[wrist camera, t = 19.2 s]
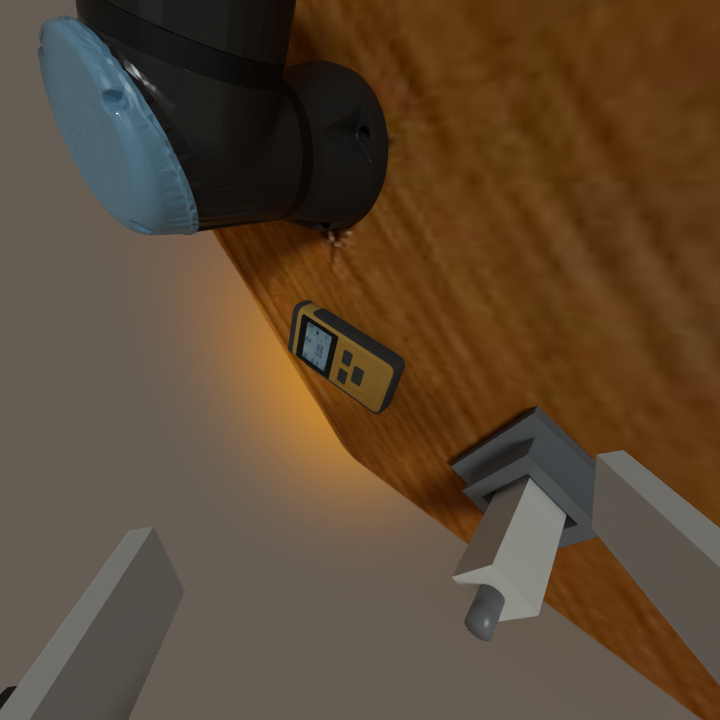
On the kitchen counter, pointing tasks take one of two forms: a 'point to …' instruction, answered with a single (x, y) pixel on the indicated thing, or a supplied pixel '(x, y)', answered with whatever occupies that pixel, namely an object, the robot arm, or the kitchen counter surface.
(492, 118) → the kitchen counter surface
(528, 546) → the plug
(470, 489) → the socket
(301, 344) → the electronic device
